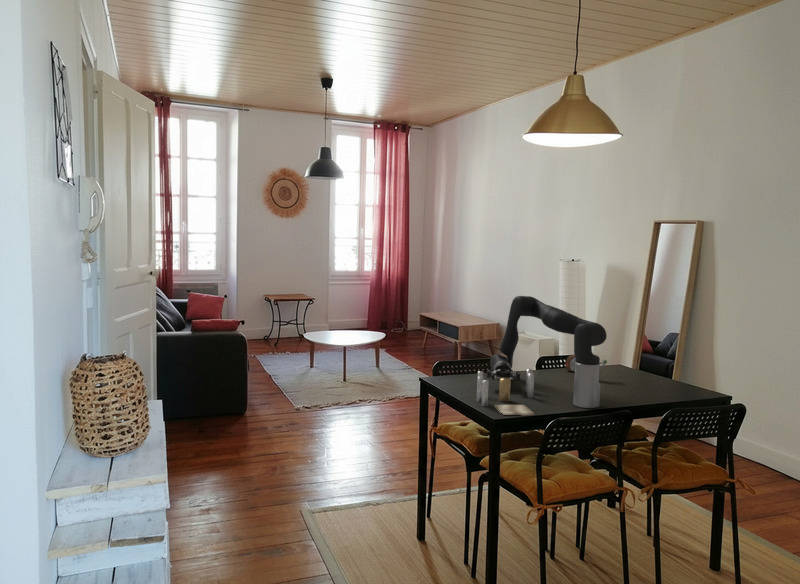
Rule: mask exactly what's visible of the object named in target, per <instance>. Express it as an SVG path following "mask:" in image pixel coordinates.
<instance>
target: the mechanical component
mask: <svg viewBox="0 0 800 584" xmlns="http://www.w3.org/2000/svg"><path fill="white" fill-rule="evenodd" d="M607 363H608V359H603V360H602V362H600V364H599V369H603V368H606V367H605V366H606V365H607Z"/></svg>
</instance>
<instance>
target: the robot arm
mask: <svg viewBox="0 0 800 584" xmlns="http://www.w3.org/2000/svg"><path fill="white" fill-rule="evenodd" d="M509 308H510V309H509V313H508V316H507V317H508V318H507V323H506V327H505V331H504V335H503V338H502V340H501V343H500V345H499V348H498V349H499V351H500V352H501V353H502V354H503V355H502V354H498V353H496V354H493V355H492V356H491V358H490V361H489V364H490V367H491V369H492V370H493V371H492V370H491V369H487V372H486V378H488V379H491V380H492V381H494V380H496V379H498V380H499V381H500V378H510V379H511V380H512V381H513V382H515V381H517V380H518V381H519V380H521V372H520V371H518V370H517V371H515V372H513V371H512V368H513V361H514V360H513V359H514V353H515V350H516V348H517V345H518V343H519V330H518V323H519V320H520V318H521V317H531V318H536V319H539V320H540V321H541V322H542V324H543V325H544V326H545V327H547V328H549V329H550V330H553V331H555V332H558V333H562V334H568V335H573V355H575V358H576V361H575V371H574V379H573V380H574V381H573V382H574V383H573V398H572V399H573V400H572V401H573V402H572V404H573V405H574V406H576V407H579V408H584V409H593V408H594V409H595V408H599V407H600V398H601V397H600V396H601V383H600V382H599V381H600V380H599V378H600V377H599V376H600V368H599V366H600V365H601V364H600V363H601V362H600V356H599V355H597V354H594V353H593V349H592V348H593V347H596V346H600V345H602V344H604V343H605V341H606V340H607V337H608V336H607V334H608V333H607V331H606V329H605V328H604V326H602V325H601V324H600V323H598V322H595V321H590V320H586V319H583V318H581V317H579V316H576V315H574V314H572V313H569V312H567V311H565V310H563V309H561V308H558V307H555V306H553V305H549V304H546V303H544V302H542V301H541V300H539V299H537V298H536V297H533V296H529V295H528V296H527V295H517V296H514V298H513V299H512V302H511V304H510V307H509Z"/></svg>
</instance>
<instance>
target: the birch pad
mask: <svg viewBox="0 0 800 584" xmlns="http://www.w3.org/2000/svg"><path fill="white" fill-rule="evenodd" d="M493 408H495V410H497V412H498V413H500V414H501V413H502V414H503V415H521V416H535V412H533V410H531V409H530V408H529V407H527V405H524V404H494V405H493ZM502 414H501V415H502ZM503 415H502V416H503Z"/></svg>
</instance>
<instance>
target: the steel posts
mask: <svg viewBox="0 0 800 584" xmlns="http://www.w3.org/2000/svg"><path fill="white" fill-rule="evenodd" d="M525 375H526V377H525V378H526V379H525V393H526V397H527V398H528V399H533V398H534V388H535V387H534V385H535V373H534V372H533V368H526V374H525ZM476 383H477V384H476V402H477V403H481V407H485V406H486V407H488V406H489V389H490V388H489V387H490V381H489V379H484V371H482V370H481V371H480V370H478V371H477V380H476Z"/></svg>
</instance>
